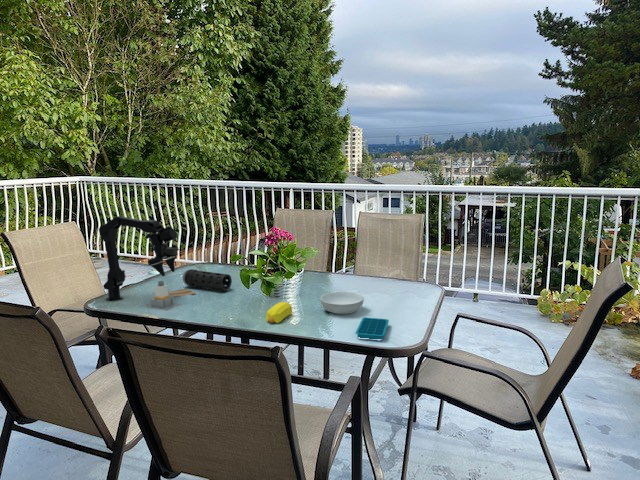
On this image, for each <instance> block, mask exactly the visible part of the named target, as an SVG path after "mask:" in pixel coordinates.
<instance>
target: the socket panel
mask: <svg viewBox="0 0 640 480" xmlns="http://www.w3.org/2000/svg"><path fill="white" fill-rule="evenodd" d="M182 305H183V303H178V302H174V297H173V296H169V298H168V299H165V300H163V301H162V300H156V299H154V297H153V298H151V299H150V302H149V303H147V304H144V305H142V307H143V308H144V307H145V308H150V309H156V310H162V311H165V312H166V311H169V310H172V309H174V308H177V307H179V306H182Z"/></svg>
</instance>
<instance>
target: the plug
mask: <svg viewBox="0 0 640 480" xmlns="http://www.w3.org/2000/svg"><path fill="white" fill-rule="evenodd" d="M154 289H155V290H154V291H155V295H154V296H153V298H154V299H156V300H162V301H163V300H165V299H168V298H169V297H170V295H169V294H168V292H169V291H168V285H167V284H165V281H164V280H159V281H158V282H157V285H155V286H154Z"/></svg>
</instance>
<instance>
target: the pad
mask: <svg viewBox="0 0 640 480" xmlns="http://www.w3.org/2000/svg"><path fill="white" fill-rule="evenodd" d="M168 295H169V296H170V297H173V298H178V297H184V296H196V295H197V293H196V292H194V291H193V290H191V289H188V288H184V289H183V288H182V289H178V290H176V289H175V290H172V291H168Z"/></svg>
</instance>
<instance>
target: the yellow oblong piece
mask: <svg viewBox="0 0 640 480" xmlns="http://www.w3.org/2000/svg"><path fill="white" fill-rule="evenodd" d="M292 314H293V307H292V305H291V304H290V302H289V301H288V302H287V301H286V302H284V301H280V302H278V303H276V304H274V305H273V306H271V308H269V309H267V311H266V314H265V319H266V322H267V323H270V324H274V323H276V324H280V322H281V321H283V320H284V319H286V318H287V317H289V316H291V315H292Z"/></svg>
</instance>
